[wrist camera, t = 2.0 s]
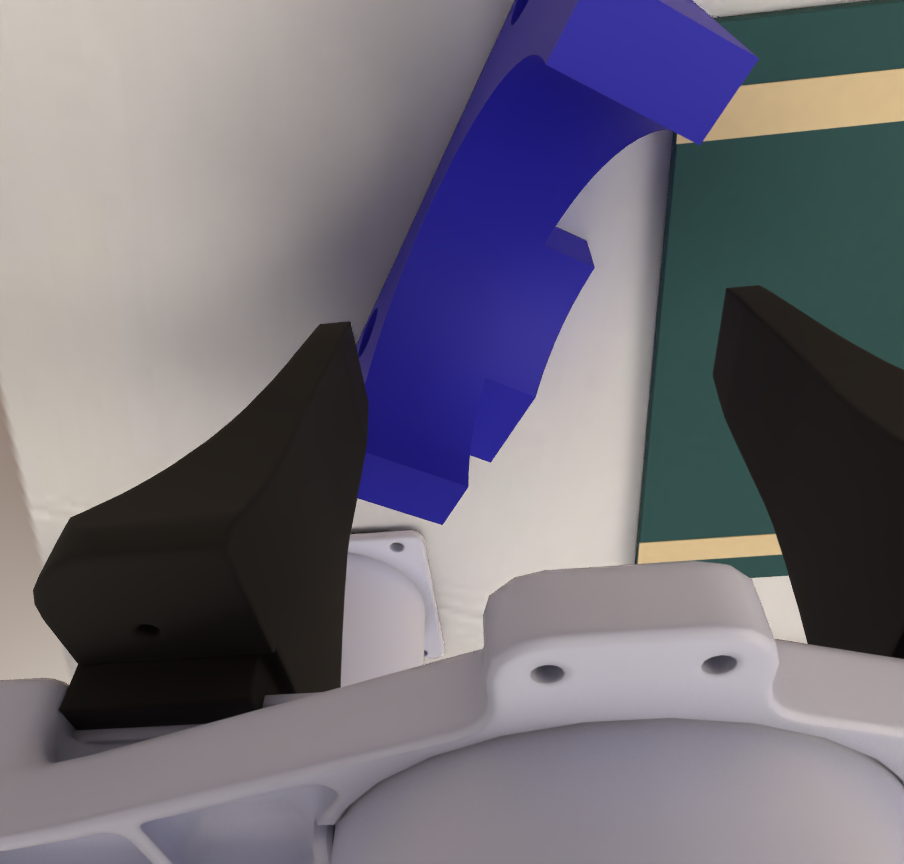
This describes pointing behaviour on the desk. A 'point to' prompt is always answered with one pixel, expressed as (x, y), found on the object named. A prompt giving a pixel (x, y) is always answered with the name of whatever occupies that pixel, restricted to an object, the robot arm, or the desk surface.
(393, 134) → the desk surface
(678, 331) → the cloth
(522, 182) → the cable clip
